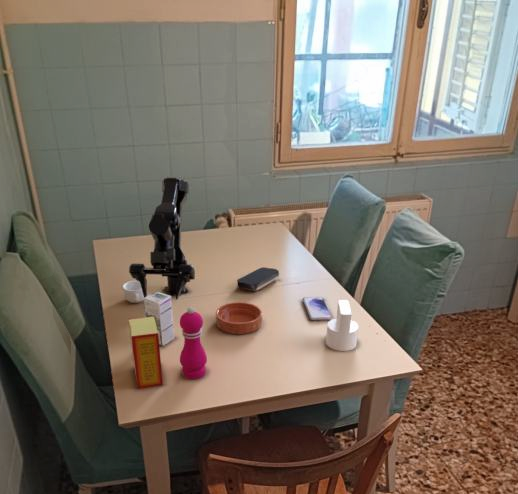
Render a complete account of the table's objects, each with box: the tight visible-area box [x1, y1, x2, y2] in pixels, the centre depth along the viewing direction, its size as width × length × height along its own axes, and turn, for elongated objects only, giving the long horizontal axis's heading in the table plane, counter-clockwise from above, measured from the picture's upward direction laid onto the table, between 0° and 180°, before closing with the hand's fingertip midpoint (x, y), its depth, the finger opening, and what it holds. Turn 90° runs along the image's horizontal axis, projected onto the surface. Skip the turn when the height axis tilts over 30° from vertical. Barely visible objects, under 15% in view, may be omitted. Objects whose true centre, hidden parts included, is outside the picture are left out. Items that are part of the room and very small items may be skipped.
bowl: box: [215, 301, 263, 335], centre depth 177 cm, size 14×14×4 cm
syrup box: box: [143, 290, 176, 347], centre depth 165 cm, size 6×6×14 cm
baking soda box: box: [128, 316, 164, 389], centre depth 148 cm, size 10×6×16 cm
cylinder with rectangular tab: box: [325, 299, 359, 352], centre depth 166 cm, size 9×9×12 cm
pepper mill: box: [179, 306, 208, 380], centre depth 149 cm, size 7×7×20 cm
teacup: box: [122, 280, 144, 304], centre depth 188 cm, size 10×8×5 cm
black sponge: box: [236, 266, 280, 292], centre depth 202 cm, size 16×8×4 cm, turn 143°
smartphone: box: [302, 296, 333, 321], centre depth 186 cm, size 7×1×15 cm
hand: (160, 299), depth 166 cm, fingers open, 9 cm apart
